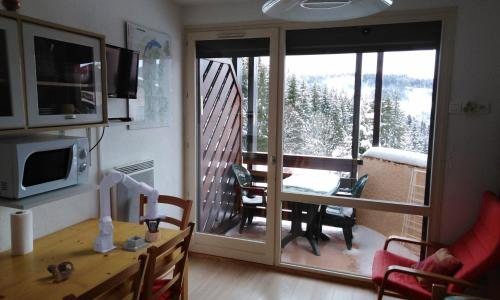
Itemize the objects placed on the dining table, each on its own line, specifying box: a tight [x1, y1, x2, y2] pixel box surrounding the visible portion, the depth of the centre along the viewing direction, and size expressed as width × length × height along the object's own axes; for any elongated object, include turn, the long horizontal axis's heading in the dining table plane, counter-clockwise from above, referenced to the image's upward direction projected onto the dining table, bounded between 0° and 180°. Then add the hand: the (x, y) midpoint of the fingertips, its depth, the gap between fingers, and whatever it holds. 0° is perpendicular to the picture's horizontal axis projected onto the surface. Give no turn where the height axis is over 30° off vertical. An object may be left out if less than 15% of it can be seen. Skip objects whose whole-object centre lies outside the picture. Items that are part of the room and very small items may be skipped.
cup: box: [144, 228, 162, 243], centre depth 219 cm, size 9×9×5 cm
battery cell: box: [150, 221, 156, 233], centre depth 219 cm, size 4×4×8 cm
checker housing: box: [122, 235, 150, 252], centre depth 207 cm, size 10×10×5 cm
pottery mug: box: [46, 260, 76, 282], centre depth 169 cm, size 12×10×8 cm
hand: (153, 231), depth 219 cm, fingers closed on battery cell, 4 cm apart
